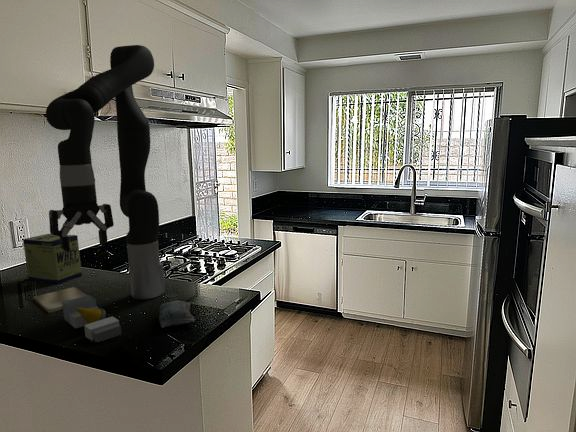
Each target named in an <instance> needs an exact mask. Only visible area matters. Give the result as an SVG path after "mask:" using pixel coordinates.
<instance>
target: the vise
mask: <svg viewBox="0 0 576 432" xmlns="http://www.w3.org/2000/svg"><path fill="white" fill-rule="evenodd" d="M86 295H87V294H86ZM62 304H63V309H62V310H63V320H65V321H66V322H67V323H68V324H70V325H71V326H72V327H73V328H74V329H78V328H82V327H84V335H85V336H84V337H85V338H87V340H89V339H90V340H91V341H90V340H89V341H90V342H94V343H96V342H99V343H101V342H100V341H102V342H105V341H107V339H108V340H110V338H111V339H114V338H116V336H117V337H119V335H120V336H122V325H120V320H119V319H117V318H116V317H114V316H108V318H106V319H103V320H99V321H96V322H93V323H90V324H87V322H86V321H85V319H84V318H83V317H82V316H81V314H80V313H79V312H78V311H77V309H76V308H77V307H78V308H90V309H97V308H100V307H98V306H97V301H96V298H95V297H93V296H91V295H89V294H88V295H87V296H83V297H79V298H76V299H72V300H68V301H64V302H62ZM113 337H114V338H113ZM92 340H94V341H92ZM104 340H105V341H104Z"/></svg>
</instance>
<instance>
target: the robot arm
mask: <svg viewBox="0 0 576 432" xmlns="http://www.w3.org/2000/svg"><path fill="white" fill-rule="evenodd" d="M109 63H110V64H109V67H110V69H107V70H104V71H101V72H100V73H98V74H95V75H94V76H92V77H90V78H89V79H87V80H85V82H83V83H82V84H81V85H80V86H78V87H77V88H76V89H73V90H71V91H69V92H65V93H64V94H62V95H61V96H58V97H56V98H55V99H53V100H52V101H50V102H49V104H48V106H47V107H46V109H45V119H46V122H47V123H48V124H49V126H51V127H52V128H53V129H56V130H60V131H69V134H68V138H66V139H64V140H61V141H59V143H58V144H57V154H58V164H59V181H60V183H59V184H60V191H61V196H62V197H61V199H62V204H63V205H62V206H63V207H62V209H55V210H54V209H50V210H48V219H49V221H48V222H49V234H52V235H55V236H59V237H60V243H61V248H62V249H63V250H64V251H66V252H69V251H70V246H69V238H68V236H67V235H69V233H70V231H71V230H72V229H73V228H74V226H81V225H82V226H83V225H85V224H86V225H89V224H91V223H92V224H93V225H94V226H96V227H97V228H98V239H99V241H98V242H99V244H100V245H101V246H105V245H106V243H108V233H107V230H109V229H110V228H112V227H114V225H115V224H114V218H113V212H112V206H111V204H109V203H103V204H100V205H99V204H98V201H97V200H98V198H97V190H96V178H95V172H94V169H93V163H92V153H91V146H92V145H91V144H92V140H93V134H94V126H95V120H96V119H95V113H97V112H99V111H100V110H102V109H104V107H105V106H106V105H108V104H109V103H110V102H111V101H112V100H113V99H115V100H114V101H115V109H116V110H115V111H116V132H117V145H118V161H119V168H120V171H119V172H120V186H119V187H120V190H119V208H120V211H121V212H122V214H123V215H124V216H125V217H127V218H128V228H129V229H128V232H127V233H126V235H125V236H126V237H125V239H126V249H127V250H126V251H127V258H128V259H127V260H128V269H129V278H130V289H131V290H130V291H131V297H132V298H133V299H134V300H135V299H136V300H149V299H154V298H157V297H159V296H161V295H163V294H165V293H166V286H165V275H164V265H163V263H161V258H160V250H159V249H160V248H159V237H158V236H159V233H160V214H159V213H160V212H159V211H160V210H159V204H158V200H157V197H155V195H154V194H153V193H151V192H149V191H147V189H146V179H145V178H146V175H145V174H146V169H147V164H148V159H149V155H150V150H151V131H150V130H151V128H150V123H149V120H148V118H147V117H146V115H145V113H144V112H143V110H142V109H141V107H140V106H139V104H138V102H137V101H136V98H135V94H134V91H133V90H134V89H133V85H135V84H136V83H139V82H141V81H142V80H144V79H147V78H149V77H150V76H151V75H152V73H153V72H154V69H155V58H154V56H153V54H152V51H151V50H150V49H149V48H148V47H146V46H145V45H141V44H132V45H122V46H121V45H119V46H116V47H114V48H112V50H111V52H110V58H109ZM99 212H101V213H102V214H103V218H104V223H103V222H102V220H101V219H100V218H99V217H98V216H97V215H98V214H99ZM62 216H63V217H65V220H64V222H63V224H62V227H61V228H60V230H59V220H60V219H61V217H62Z"/></svg>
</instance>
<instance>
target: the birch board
mask: <svg viewBox="0 0 576 432" xmlns="http://www.w3.org/2000/svg"><path fill="white" fill-rule="evenodd" d="M83 296H87V294H86V293H84V292H83V291H81V290H80V289H78V288H77V287H75V286H72V287H68V288H64V289H60V290H56V291H55V290H54V291H52V292H47V293H44V294H40V295H36V296H33V301H34V302H36V303H37V305H39V306H40V307H41V308H43V310H44V311H46V312H47V313H49V314H50V313H54V312H57V311H61V310H63V304H62V302H64V301H68V300H72V299H76V298H79V297H83Z"/></svg>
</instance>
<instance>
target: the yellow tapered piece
mask: <svg viewBox="0 0 576 432" xmlns="http://www.w3.org/2000/svg"><path fill="white" fill-rule="evenodd" d="M76 309H77V311H78V312H79V313H80V314H81V316H82V317H83V318H84V319H85V321H86V322H87V324H90V323H93V322H96V321H99V320H103V319H106V318H109V316H106V314H107V313H106V310H105V309H104V308H102V307H99V308H97V309H90V308H78V307H77V308H76Z"/></svg>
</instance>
